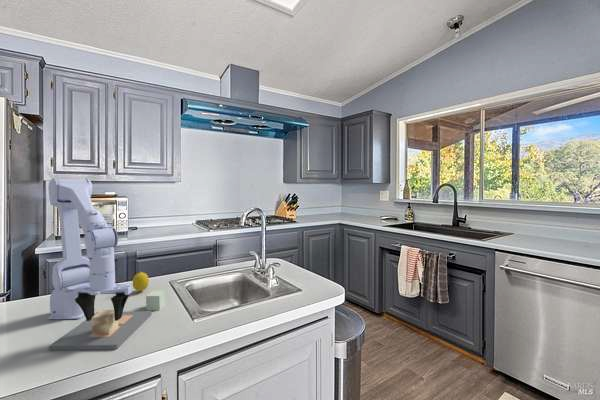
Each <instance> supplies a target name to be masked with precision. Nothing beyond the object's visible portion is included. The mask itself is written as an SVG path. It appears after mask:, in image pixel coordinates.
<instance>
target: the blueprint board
mask: <svg viewBox="0 0 600 400" xmlns="http://www.w3.org/2000/svg"><path fill="white" fill-rule="evenodd" d="M99 312H100V311H96V312H94V316H95V315H96V314H97V313H99ZM151 316H152V310H145V311H144V310H143V311H141V310H140V311H139V310H138V311H134V310H132V311H131V310H128V311H123V313H122V317H121V318H120V319H119V320H118V327H117V328H116V329H115V330H114V331H113V332H112V333H111V334H109V335H93V334H92V319H91V320H90V321H87V320H86V319H85V320H84V321H82V322H81V323H79V324H78V325H76V326H75V327H74V328H73V329H71V330H69V331H68V332H67V333H65V334H63V336H61V337H59V338H58V339H57V340H55V341H54V342H52V343H51V344H49V346H48V351H79V350H80V351H89V350H96V351H97V350H118V349H119V348H120V347H121V346H122V345H123V344H124V343H125V342H126V341H127V340H128V339H129V338H130V337H131V336H132V335H133V334H134V333H135V332H136V331H137V330H138V329H139V328H140V327H141V326H142V325H143V324H144V323H145V322H146V321H147V320H148V319H149V318H150V317H151Z"/></svg>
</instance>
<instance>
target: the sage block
mask: <svg viewBox="0 0 600 400" xmlns="http://www.w3.org/2000/svg"><path fill="white" fill-rule="evenodd" d="M145 303H146V304H145V305H146V306H145V307H146V310H145V311H161V310H162V309H163V307H164V306H166V290H152V291H150V292H149V293H148V294H147V295H145Z"/></svg>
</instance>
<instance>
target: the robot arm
mask: <svg viewBox="0 0 600 400" xmlns="http://www.w3.org/2000/svg"><path fill="white" fill-rule="evenodd" d="M92 184H93V183H92V181H91V180H90V179H89V178H54V177H53V178H51V179H50V180H49V182H48V198H49V203H50V205H51V206H53V207H56V209H57V212H58V217H59V218H58V219H59V227H60V228H59V229H60V239H61V251H62V258H61V259H60V260H59V261H57V262H56V263H55V264H54V265H53V266H52V274H51V281H52V282H51V283H52V285H53V288H54V289H53V290H52V292H51V293H50V296H49V307H50V308H49V310H50V311H49V312H50V316H49V317H48V320H76V319H77V320H79V319H81V318H82V317H85V320H87V321H90V320H91V319H92V317H93V316H94V314H95V309H96V306H95V303H96V302H95V301H96V296H98V295H114V296H112V297H111V298H110V300H111V304H112V306H113V310H114V318H115V321H118V320H119V319H120V318H121V317H122V313H123V312H124V308H125V305H126V303H127V300H128V298H129V297H130V295H131V294H132V293H133V288H132V287H133V285H127V284H120V283H119V284H118V283H116V265H115V264H116V263H115V248H116V247H117V245H118V244H119V242H118V241H119V236H118V232H117V229H116V228H115V227H114V226H112V225H111V224H107V221H106V219H105V218H104V216H103V214H102V212H101V211H100V210H98V209H96V208H95V207H94V205H93V202H92V199H91V198H92V195H93V185H92ZM80 227H81V229H82V232H83V234H84V238H83V239H84V246H85V250H86V256H87V257H88V258H87V257H86V256H83V254H82V244H81V243H82V242H81V233H80Z"/></svg>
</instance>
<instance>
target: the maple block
mask: <svg viewBox="0 0 600 400" xmlns="http://www.w3.org/2000/svg"><path fill="white" fill-rule="evenodd" d="M98 312H99V313H97V312H96V313H97V314H96V315H95V316H93V317H92V334H93V335H109V334H111V333H112V332H113V331H114V330H115V329H116V328H117V327H118V321H115V318H114V309H101V310H100V311H98Z"/></svg>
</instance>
